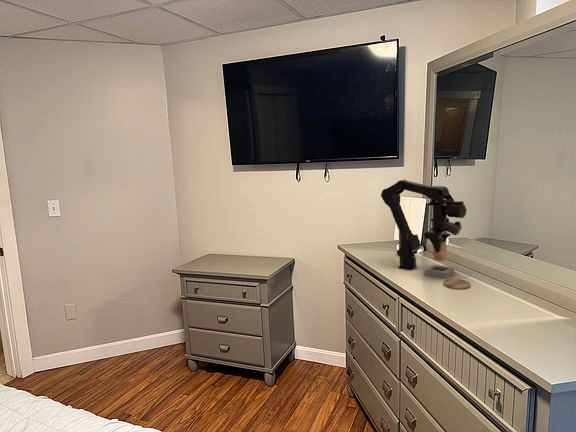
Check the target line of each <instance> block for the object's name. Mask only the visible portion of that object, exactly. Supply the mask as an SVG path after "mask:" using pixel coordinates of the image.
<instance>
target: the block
mask: <svg viewBox="0 0 576 432" xmlns="http://www.w3.org/2000/svg"><path fill="white" fill-rule="evenodd" d="M432 248H433V250H432V251H433V253H432V259H433V261H439V262H443V261H445V260H447V240H446V241H441V243H440V250H439V253H437V252H436V251H435V249H434V247H433V246H432Z"/></svg>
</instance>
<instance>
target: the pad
mask: <svg viewBox="0 0 576 432" xmlns="http://www.w3.org/2000/svg"><path fill="white" fill-rule="evenodd" d="M442 282H443V283H442V285H443V286H444V288H445V287H446V288H447V289H451V290H458V291H459V290H462V291H463V290H469V289H470V288H471V282H470V281H468V280H465V279H460V278H459V279H458V278H447V279H443V281H442Z"/></svg>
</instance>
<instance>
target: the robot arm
mask: <svg viewBox="0 0 576 432" xmlns="http://www.w3.org/2000/svg"><path fill="white" fill-rule="evenodd" d="M404 191H408V192H411V193H415V194H419V195H423V196H425V197H426V198H428V199H430V202H428V203H427V206H432V218H430V222H432V227H430V230H428V231H427V230H426V231H425V232H424V233H423V239H426V240H429V241H430V243H431V245H432V248H433V247H434V249H435V251H436V252H437V253H439V250H440V243H441V241H446V242H447V239H448V237H449V238H450V236H451V235H453V236H457V235H459V234H460V231H461V230H463V229H462V227H463V226H462V223H461V221H458V220H457V221H455V222H451V221H450V218H456V219H457V218H459V219H464V218H465V217H466V214H467V206H466V204H464V203H465V202H464V201H463V200H461V201H460V200H459V201H455V199H454V198H453V196H452V195H451V194H450V190H449V189H448V187H447V186H443V185H442V186H441V185H426V184H422V183H419V182H414V181H410V180H407V179H400V180H398V181H396V183H394V184H392V185H391V186H389V187H387V188H384V189H383V190H382V191H381V193H380V196H381V197H380V198H381V199H382V201H383V202H384V204H385V205H386V206H387V207H389V209H390V212H391V215H392V216H393V219H394V222H395V225H396V226H397V230H398V233H399V232H400V235H401V242H400V243H401V248H400V249H399V248H398V250H397V251H396V255H397V256H398V257H399V265H398V267H397V268H398V269H402V270H403V269H404V270H409V271H411V270H413V269H415V268H417V266H418V265H417V258H416V255H417V254H418V251H420V248H421V241H420V239H419V235H418V234H417V233H416V234H413V233H412V232H413V231H412V230H411V228H410V226H409V223H408V221H407V219H406V216H405V213H404V211H403V208H402V206H401V194H402V193H403V192H404ZM410 230H411V231H412V232H411V231H410Z"/></svg>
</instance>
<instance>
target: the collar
mask: <svg viewBox="0 0 576 432" xmlns="http://www.w3.org/2000/svg"><path fill="white" fill-rule="evenodd" d="M455 270H456V269H455V267H453V266H452V267H450V266H445V265H440V264H439V265H438V264H432V265H430V266H428V267H426V268H425V269H424V270H423V273H424V276H426V277H431V278H432V277H433V278H436V279H437V278H439V279H443V280H447V279H449V278H450V277H451V276H453V275H454V274H455V273H456V272H455Z"/></svg>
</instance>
